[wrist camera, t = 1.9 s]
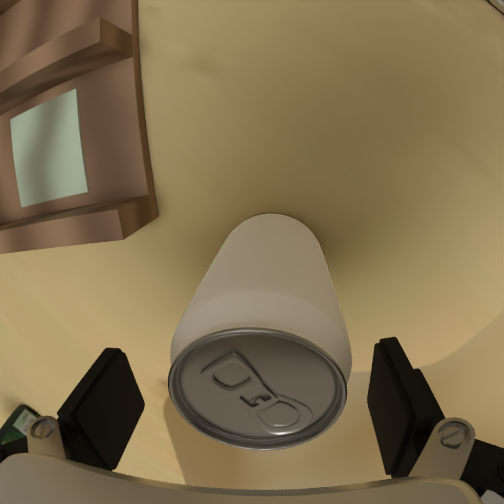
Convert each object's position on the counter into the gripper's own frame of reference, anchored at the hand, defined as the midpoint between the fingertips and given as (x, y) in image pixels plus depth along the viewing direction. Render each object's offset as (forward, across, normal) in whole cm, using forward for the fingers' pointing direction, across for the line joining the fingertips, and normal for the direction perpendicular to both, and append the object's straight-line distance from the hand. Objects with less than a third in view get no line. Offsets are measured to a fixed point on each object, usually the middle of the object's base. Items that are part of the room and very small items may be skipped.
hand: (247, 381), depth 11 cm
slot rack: (+10, +15, -16) cm, 24 cm away
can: (+10, -1, -1) cm, 11 cm away
